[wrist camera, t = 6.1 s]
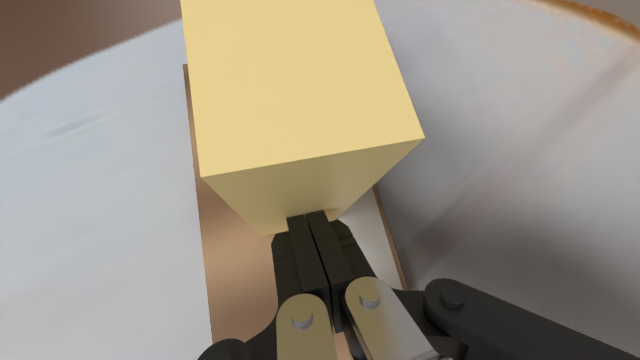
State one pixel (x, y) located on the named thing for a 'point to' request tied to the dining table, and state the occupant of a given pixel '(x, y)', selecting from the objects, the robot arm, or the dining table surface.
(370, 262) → the base
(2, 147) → the dining table surface
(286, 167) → the block
